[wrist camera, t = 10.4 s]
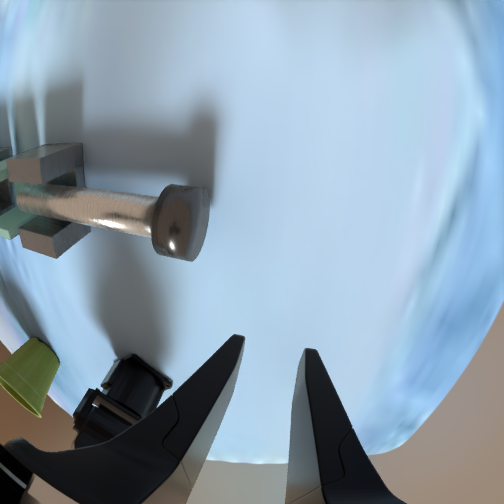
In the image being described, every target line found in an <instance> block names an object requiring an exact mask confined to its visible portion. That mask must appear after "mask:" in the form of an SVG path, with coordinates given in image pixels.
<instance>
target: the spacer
mask: <svg viewBox="0 0 504 504" xmlns="http://www.w3.org/2000/svg"><path fill="white" fill-rule="evenodd" d="M10 158H11V157H10ZM7 178H8V172H7V164H6V159H5V160H3V161H1V162H0V182H1V181H3V180H5V179H7ZM23 184H25V183H18V182H14V187H15V194H16V199H17V194H18V191H19V189H20V187H21V186H22V185H23ZM36 216H37V215H35V214H30V213H26V212H22V211H21V210H20V209H19V208H18V206H16V207H14V208H13V209H11V210H9V211H8V212H6V213H4V214H3V215H1V216H0V236H1V237H4V238H6V239H9V240H11V239H13V238H14V237H16V236H17V235H18V234H19V231H18V228H19V227H20V226H22V225H23V224H25V223H26V222H28V221H29V220H31V219H32V218H34V217H36Z"/></svg>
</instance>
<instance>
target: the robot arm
mask: <svg viewBox="0 0 504 504" xmlns="http://www.w3.org/2000/svg"><path fill="white" fill-rule="evenodd" d="M244 344H245V337H244V336H242V335H237V334H234V335H232V336H231V337H230V338H229V339H228V340H227V341H226V342H225V343H224V344H223V345H222V346H221V347H220V348H219V349H218V350H217V351H216V352H215V353H214V354H213V355H212V356H211V357H210V358H209V359H208V360H207V361H206V362H205V363H204V364H203V365H202V366H201V367H200V368H199V369H198V370H197V371H196V372H195V373H194V374H193V375H192V376H191V377H190V378H189V379H188V380H187V381H185V382H184V383H183V384H182V385H181V386H180V387H179V388H178V389H177V390H176V391H175V392H174V393H173V394H172V395H173V396H172V395H171V396H170V397H168V398H167V399H166V400H165V401H164V402H163V403H162V404H161V405H160V406H158V407H157V405H158V403H159V401H160V399H161V397H162V394H163V392H164V390H167V389H170V388H172V383H170V382H169V381H168V380H166V379H165V378H164V377H162V376H161V375H160V374H158V373H157V372H156V371H155V370H153V369H152V368H151V367H149V366H148V365H147V364H146V363H144V362H143V361H142V360H141V359H139V358H138V357H137V356H136V355H134V354H131V355H130V356H128V357H126V358H125V359H120V360H118V361H117V362H115V363H114V364H113V366H112V367H111V369H110V370H109V372H108V374H107V375H106V377H105V378H104V380H103V382H102V383H101V387H102V388H103V390H102V392H101V391H100V390H99V389H98V388H96V389H95V390H94V389H90V388H89V389H88V391H87V392H86V394H85V396H84V397H83V399H82V400H81V402H80V404H79V405H78V407H77V408H76V410H75V412H74V413H73V418H74V424H75V425H74V427H73V429H74V430H75V431H77V434H76V436H75V438H74V440H73V442H72V443H71V450H66V451H59V452H45V451H42V450H39V449H38V448H36V447H35V446H33V445H32V444H31V443H29V442H28V441H27V440H25V439H24V438H22V437H19V438H16V439H13V440H10V441H8V442H6V443H5V444H4V445H2V444H1V443H0V504H186V502H187V500H188V497H189V495H190V493H191V491H192V488H193V486H194V484H195V482H196V480H197V478H198V475H199V473H200V471H201V468H202V466H203V464H204V462H205V459H206V457H207V455H208V452H209V450H210V448H211V445H212V443H213V441H214V438H215V436H216V434H217V431H218V429H219V427H220V424H221V422H222V419H223V417H224V415H225V412H226V410H227V407H228V405H229V402H230V400H231V397H232V395H233V392H234V388H235V384H236V380H237V376H238V372H239V368H240V364H241V360H242V356H243V351H244ZM92 404H95V405H96V406H98V407H96V406H95V407H94V406H93V405H92ZM285 504H407V503H405V502H403V501H402V500H400V499H398V498H397V497H396V496H394V495H393V494H392V493H391V492H390V491H389V490H388V488H387V487H386V485H385V484H384V482H383V481H382V479H381V477H380V476H379V474H378V473H377V471H376V469H375V468H374V466H373V465H372V463H371V461H370V460H369V458H368V456H367V455H366V453H365V451H364V449H363V448H362V445H361V443H360V441H359V439H358V437H357V435H356V433H355V431H354V429H353V428H352V424H351V422H350V420H349V418H348V416H347V413H346V411H345V409H344V407H343V405H342V403H341V400H340V398H339V396H338V394H337V392H336V390H335V388H334V385H333V383H332V381H331V379H330V377H329V375H328V373H327V370H326V368H325V366H324V364H323V362H322V360H321V358H320V356H319V353H318V351H317V350H316V349H311V348H305V349H304V351H303V354H302V357H301V359H300V362H299V365H298V371H297V377H296V383H295V389H294V395H293V401H292V411H291V431H290V447H289V462H288V475H287V487H286V498H285Z"/></svg>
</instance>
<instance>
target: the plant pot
mask: <svg viewBox="0 0 504 504" xmlns="http://www.w3.org/2000/svg"><path fill="white" fill-rule="evenodd" d="M59 366H60V363H59V362H58V358H57V357H56V355H55V354H54V352H52V351H51V350H50V348H49V347H48V346H47V345H45V344H44V343H41V342H40V341H39V340H38V339H37V338H35V337H32V338H30V339H29V340H28V341H27V342H26V343H25V344H23V345H22V346H21V347H20V348H19V349H18V350H16V351H15V352H14V353H13V354H12V355H11V356H10V357H9V358H7V359H6V360H5V361H4V362H3V363H0V384H1V386H2V387H3V388H4V389H5V390H6V391H7V392H8V393H9V394H10V395H11V396H12V397H13V398H14V399H16V400H17V401H18V402H19V403H20V404H21V405H22V406H24V407H25V408H26V409H27V410H29V411H30V412H31V413H33V414H34V415H36V416H37V417H39V418H41V417H42V416H41V411H42V408H43V406H44V400H45V398H46V395H47V393H48V390H49V388H50V386H51V383H52V381H53V379H54V377H55V374H56V372H57V370H58V368H59Z"/></svg>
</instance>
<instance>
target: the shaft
mask: <svg viewBox="0 0 504 504" xmlns="http://www.w3.org/2000/svg"><path fill="white" fill-rule="evenodd" d="M17 205H18V208H19V209H20V210H21V211H22V212H26V213H30V214H35V215H40V216H45V217H50V218H55V219H59V220H64V221H69V222H74V223H79V224H84V225H89V226H94V227H98V228H103V229H108V230H113V231H118V232H123V233H128V234H133V235H138V236H143V237H148V238H152V244H153V248H154V250H155V251H156V253H157V254H159V255H163V256H167V257H172V258H176V259H181V260H186V261H194V260H195V259H196V258H197V256H198V255H199V253H200V251H201V248H202V246H203V243H204V240H205V236H206V232H207V227H208V221H209V209H210V203H209V195H208V192H207V190H206V189H204V188H198V187H191V186H183V185H175V184H170V185H168V186H167V187H165V189H164V190H163V191H162V192H161V194H160V196H159V197H155V196H148V195H140V194H133V193H125V192H117V191H109V190H100V189H92V188H82V187H73V186H63V185H53V184H30V183H25V184H23V185H22V186H21V187H20V189H19V191H18V194H17Z"/></svg>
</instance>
